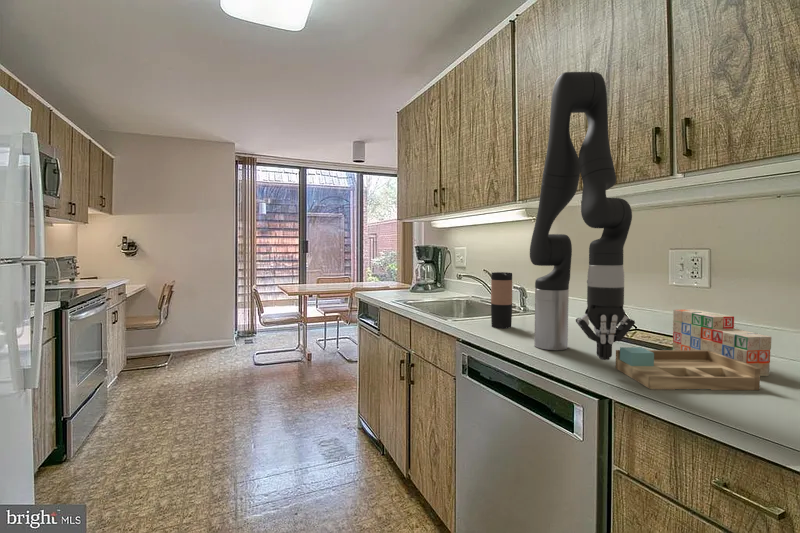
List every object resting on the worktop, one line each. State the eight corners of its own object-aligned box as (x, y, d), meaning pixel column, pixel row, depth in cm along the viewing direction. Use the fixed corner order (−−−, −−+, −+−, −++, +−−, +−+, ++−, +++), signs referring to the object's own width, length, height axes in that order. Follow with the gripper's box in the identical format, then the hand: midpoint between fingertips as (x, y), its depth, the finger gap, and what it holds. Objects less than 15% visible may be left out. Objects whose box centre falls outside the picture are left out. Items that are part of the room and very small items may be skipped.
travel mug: (493, 323, 150) (493, 272, 149) (513, 325, 146) (514, 272, 145) (488, 327, 143) (489, 273, 142) (509, 329, 139) (510, 273, 138)
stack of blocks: (770, 376, 89) (773, 323, 88) (745, 377, 88) (747, 323, 88) (692, 351, 110) (693, 308, 109) (671, 352, 109) (672, 308, 109)
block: (619, 359, 94) (620, 347, 93) (640, 359, 93) (641, 347, 93) (631, 366, 89) (631, 352, 88) (653, 366, 88) (654, 353, 88)
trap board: (615, 368, 95) (615, 350, 95) (707, 368, 94) (708, 350, 94) (650, 389, 81) (651, 368, 81) (759, 390, 80) (760, 368, 80)
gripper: (583, 286, 86) (582, 363, 87) (644, 286, 86) (642, 363, 86) (569, 283, 94) (568, 354, 94) (625, 283, 93) (624, 354, 94)
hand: (604, 358), depth 90 cm, fingers closed
